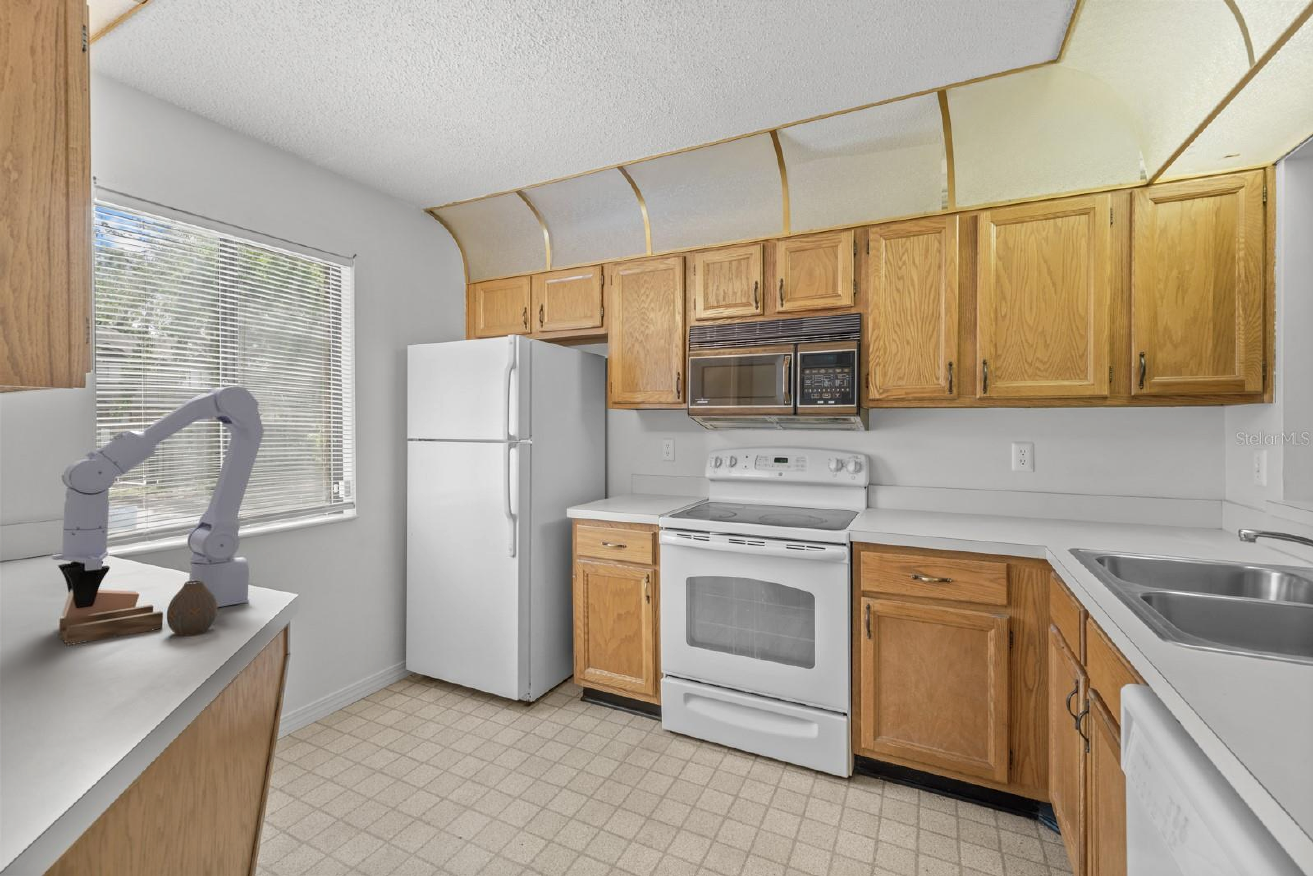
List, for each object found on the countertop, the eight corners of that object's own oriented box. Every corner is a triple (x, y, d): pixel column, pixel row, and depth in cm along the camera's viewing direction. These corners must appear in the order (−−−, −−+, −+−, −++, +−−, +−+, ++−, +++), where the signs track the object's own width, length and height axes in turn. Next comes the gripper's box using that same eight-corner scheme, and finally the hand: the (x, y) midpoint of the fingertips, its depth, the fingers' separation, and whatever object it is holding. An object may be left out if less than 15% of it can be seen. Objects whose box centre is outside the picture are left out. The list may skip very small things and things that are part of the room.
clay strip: (126, 615, 111) (134, 591, 112) (131, 619, 109) (139, 594, 110) (61, 614, 104) (70, 588, 105) (65, 618, 102) (74, 591, 103)
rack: (150, 620, 109) (151, 604, 109) (162, 628, 105) (163, 612, 105) (58, 635, 100) (59, 618, 100) (67, 645, 95) (68, 627, 95)
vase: (220, 632, 104) (222, 582, 104) (169, 641, 99) (172, 588, 99) (211, 623, 109) (213, 575, 109) (162, 631, 104) (165, 580, 104)
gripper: (46, 525, 106) (42, 601, 106) (62, 534, 98) (58, 618, 98) (99, 521, 112) (95, 594, 112) (119, 531, 103) (115, 609, 103)
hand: (82, 605), depth 105 cm, fingers closed on clay strip, 3 cm apart
